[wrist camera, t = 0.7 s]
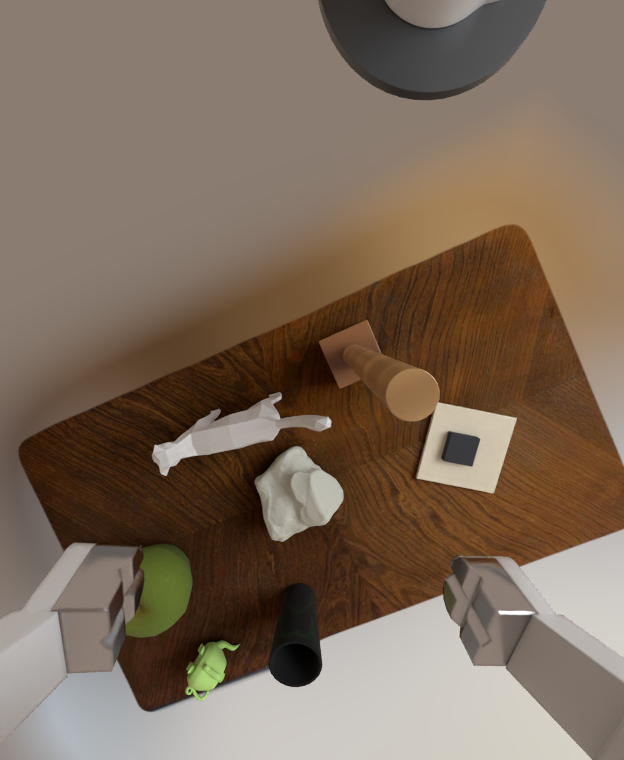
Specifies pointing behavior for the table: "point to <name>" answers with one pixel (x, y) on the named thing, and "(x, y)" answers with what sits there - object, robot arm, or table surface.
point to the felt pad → (460, 448)
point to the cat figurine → (232, 432)
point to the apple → (161, 590)
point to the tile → (489, 453)
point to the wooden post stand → (380, 373)
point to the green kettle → (207, 668)
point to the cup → (296, 639)
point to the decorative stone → (296, 494)
